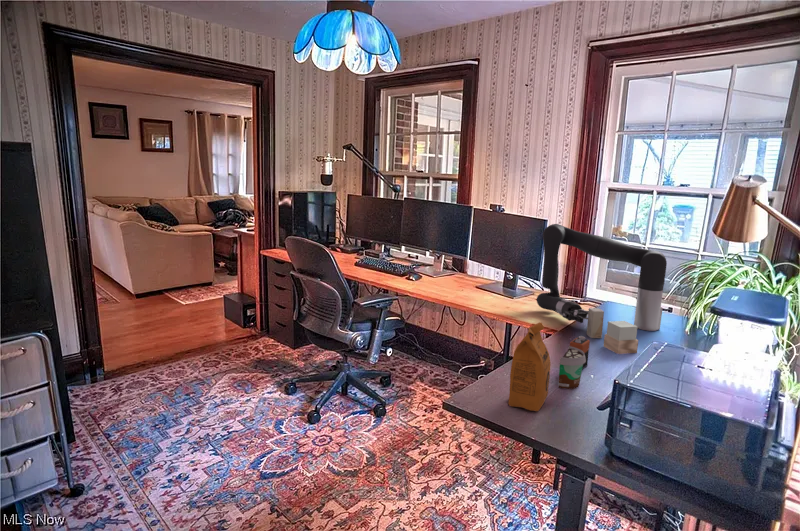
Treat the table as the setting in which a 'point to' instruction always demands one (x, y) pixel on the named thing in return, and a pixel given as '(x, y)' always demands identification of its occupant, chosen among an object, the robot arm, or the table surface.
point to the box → (595, 323)
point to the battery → (581, 346)
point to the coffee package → (530, 371)
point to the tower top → (622, 330)
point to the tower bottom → (620, 345)
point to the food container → (571, 368)
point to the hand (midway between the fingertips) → (591, 320)
